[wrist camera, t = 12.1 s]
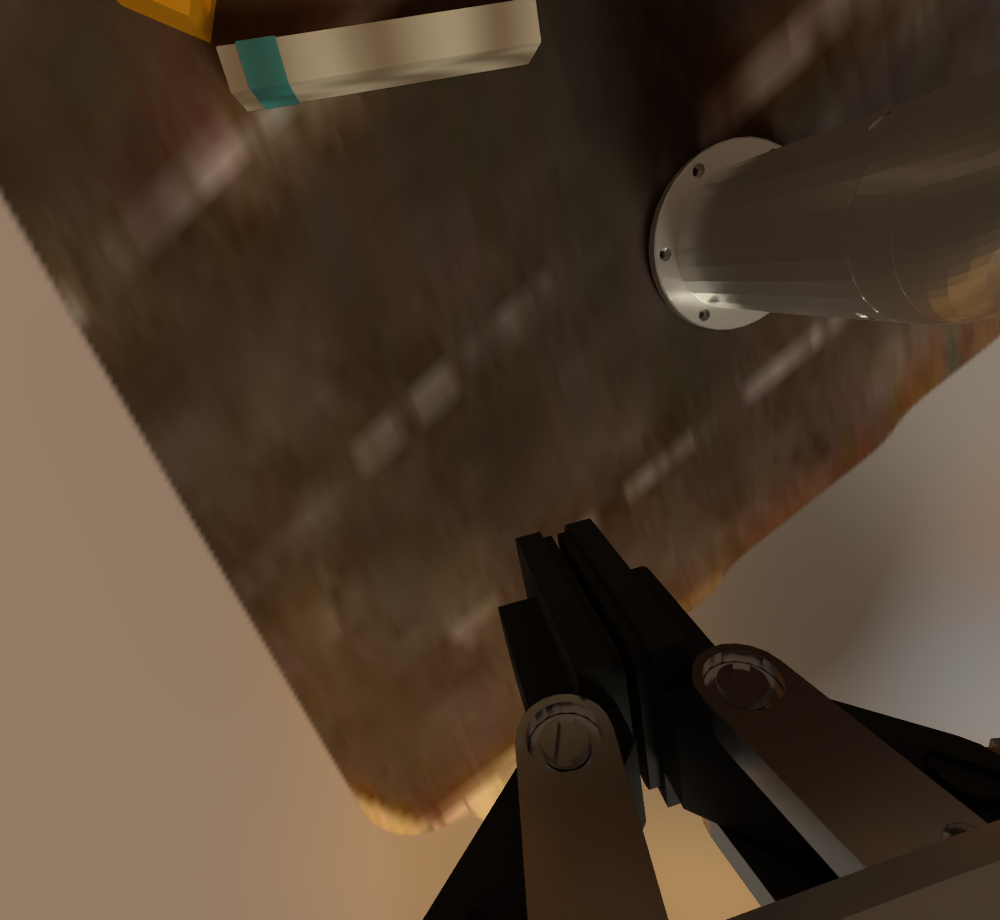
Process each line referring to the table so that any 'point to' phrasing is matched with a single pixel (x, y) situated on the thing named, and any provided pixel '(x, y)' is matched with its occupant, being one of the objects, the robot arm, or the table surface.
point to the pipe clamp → (179, 14)
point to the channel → (380, 54)
